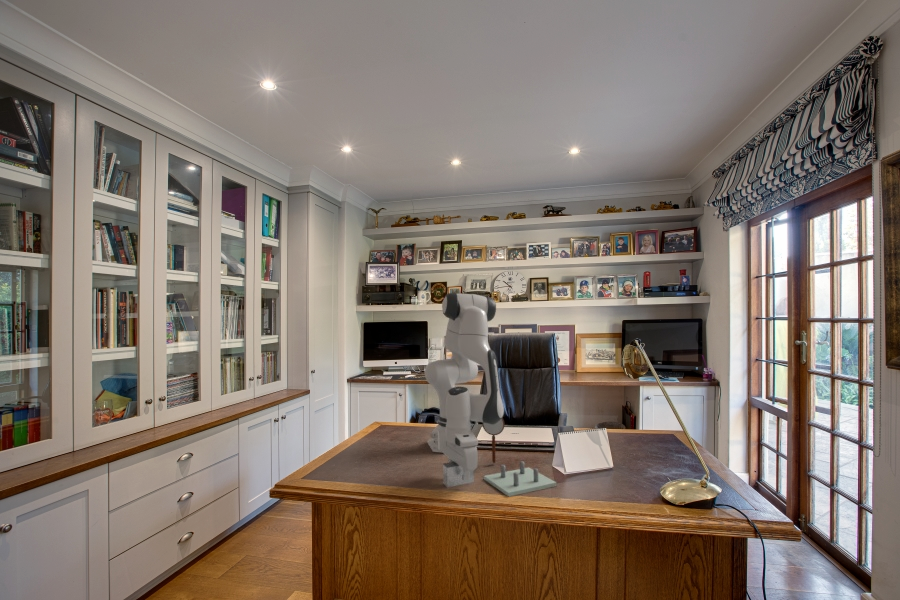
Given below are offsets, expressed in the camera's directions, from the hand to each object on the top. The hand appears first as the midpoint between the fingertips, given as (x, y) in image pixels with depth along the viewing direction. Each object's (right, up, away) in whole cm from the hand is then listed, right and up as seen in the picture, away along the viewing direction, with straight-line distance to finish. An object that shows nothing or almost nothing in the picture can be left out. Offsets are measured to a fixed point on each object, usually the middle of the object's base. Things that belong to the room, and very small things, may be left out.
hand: (459, 475), depth 145 cm
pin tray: (+21, -2, 0) cm, 21 cm away
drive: (0, -3, 0) cm, 3 cm away
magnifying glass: (+14, -3, +17) cm, 22 cm away
